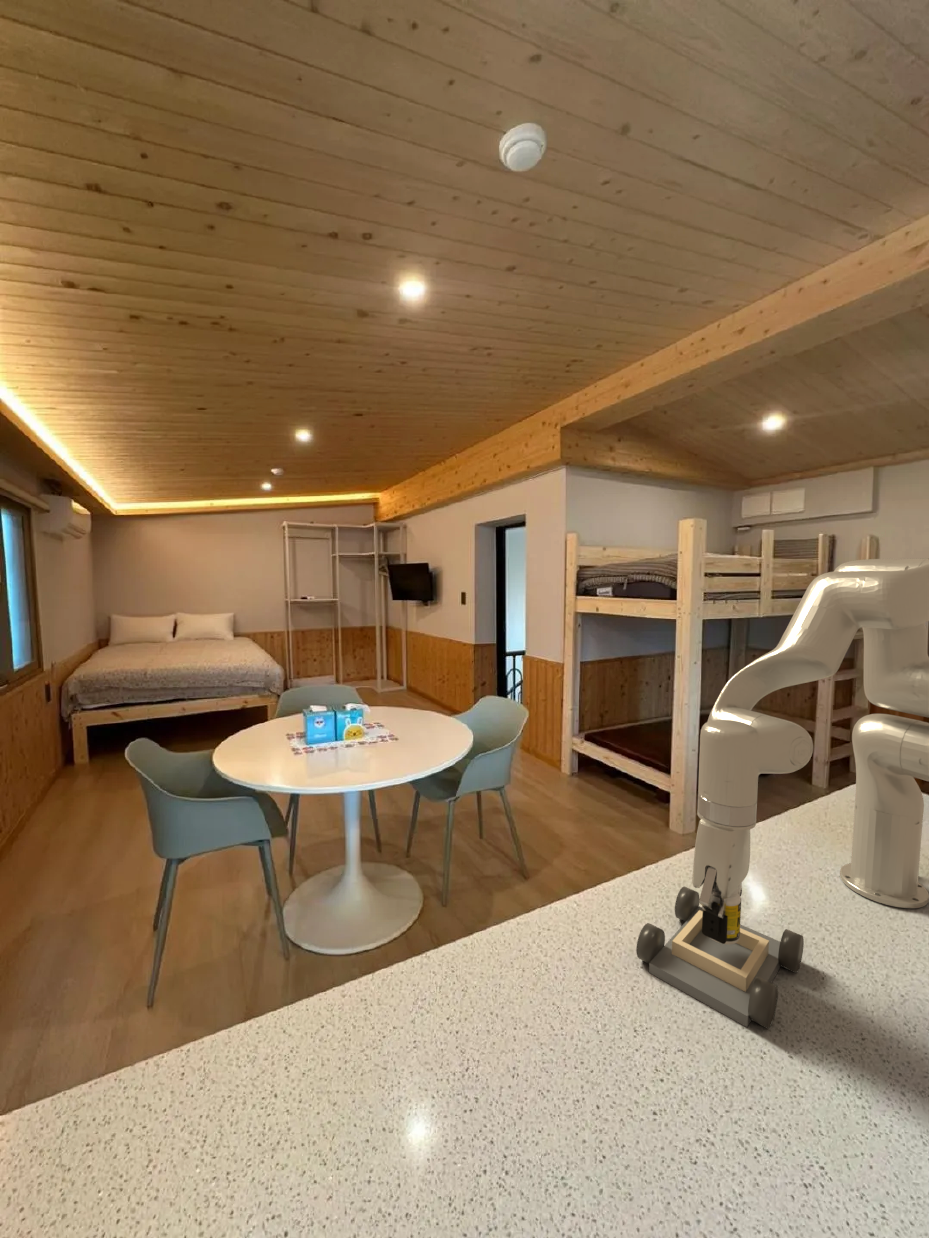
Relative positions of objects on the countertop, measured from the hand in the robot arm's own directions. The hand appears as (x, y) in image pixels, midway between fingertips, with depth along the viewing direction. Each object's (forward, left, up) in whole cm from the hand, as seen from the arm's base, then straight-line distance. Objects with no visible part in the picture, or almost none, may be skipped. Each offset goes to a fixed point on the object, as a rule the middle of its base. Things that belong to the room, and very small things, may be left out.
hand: (721, 927), depth 77 cm
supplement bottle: (0, 0, -1) cm, 1 cm away
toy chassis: (0, 0, -5) cm, 5 cm away
